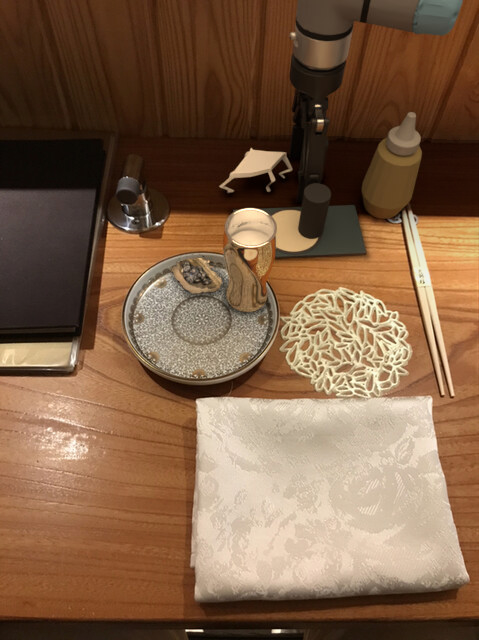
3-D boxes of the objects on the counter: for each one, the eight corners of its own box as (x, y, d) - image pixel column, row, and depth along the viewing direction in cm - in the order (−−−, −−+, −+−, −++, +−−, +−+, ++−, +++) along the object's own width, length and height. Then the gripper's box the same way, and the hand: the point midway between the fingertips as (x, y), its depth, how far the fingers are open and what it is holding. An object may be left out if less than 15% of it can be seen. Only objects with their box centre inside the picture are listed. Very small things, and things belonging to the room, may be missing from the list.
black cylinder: (321, 219, 90) (329, 182, 83) (325, 238, 88) (333, 202, 81) (296, 220, 90) (302, 183, 83) (299, 239, 88) (305, 203, 81)
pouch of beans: (189, 249, 87) (188, 241, 86) (233, 271, 85) (233, 264, 83) (163, 279, 84) (162, 271, 82) (208, 303, 82) (208, 295, 80)
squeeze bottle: (411, 198, 94) (447, 106, 79) (398, 231, 90) (433, 141, 75) (365, 182, 95) (391, 90, 80) (350, 215, 92) (374, 123, 76)
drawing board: (354, 207, 92) (355, 204, 92) (365, 255, 87) (366, 252, 87) (233, 212, 91) (233, 208, 91) (237, 260, 86) (237, 257, 86)
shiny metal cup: (213, 292, 83) (211, 223, 70) (249, 268, 85) (253, 198, 73) (244, 323, 80) (247, 257, 67) (280, 297, 83) (290, 230, 70)
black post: (320, 170, 97) (327, 132, 90) (322, 186, 95) (330, 149, 88) (297, 170, 97) (302, 132, 90) (299, 186, 95) (304, 149, 88)
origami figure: (258, 154, 99) (259, 131, 94) (293, 179, 96) (296, 156, 91) (208, 189, 94) (207, 166, 90) (244, 215, 91) (244, 194, 87)
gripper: (282, 10, 82) (272, 134, 101) (302, 109, 70) (286, 228, 89) (333, 9, 83) (313, 133, 102) (361, 107, 71) (332, 226, 90)
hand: (300, 177), depth 96 cm, fingers open, 10 cm apart
